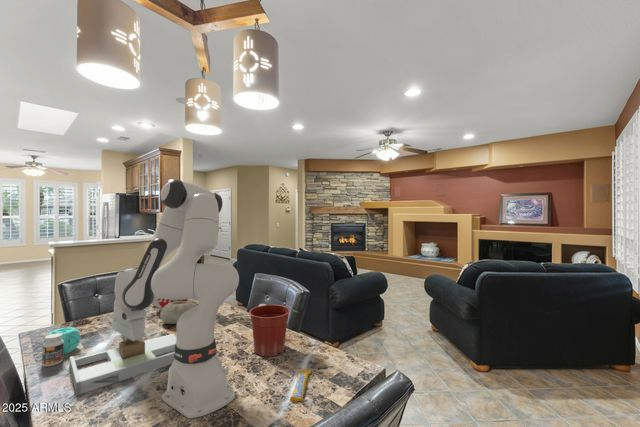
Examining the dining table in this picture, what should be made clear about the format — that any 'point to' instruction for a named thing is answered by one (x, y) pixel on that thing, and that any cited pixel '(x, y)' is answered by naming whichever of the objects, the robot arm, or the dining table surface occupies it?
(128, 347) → the walnut block
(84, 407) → the dining table surface
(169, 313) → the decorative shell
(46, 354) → the pill bottle
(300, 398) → the candy bar
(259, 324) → the flower pot
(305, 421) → the dining table surface
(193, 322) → the robot arm
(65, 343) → the decorative dice
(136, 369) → the board
